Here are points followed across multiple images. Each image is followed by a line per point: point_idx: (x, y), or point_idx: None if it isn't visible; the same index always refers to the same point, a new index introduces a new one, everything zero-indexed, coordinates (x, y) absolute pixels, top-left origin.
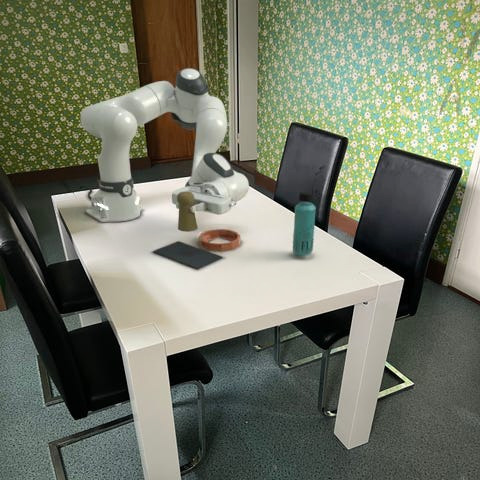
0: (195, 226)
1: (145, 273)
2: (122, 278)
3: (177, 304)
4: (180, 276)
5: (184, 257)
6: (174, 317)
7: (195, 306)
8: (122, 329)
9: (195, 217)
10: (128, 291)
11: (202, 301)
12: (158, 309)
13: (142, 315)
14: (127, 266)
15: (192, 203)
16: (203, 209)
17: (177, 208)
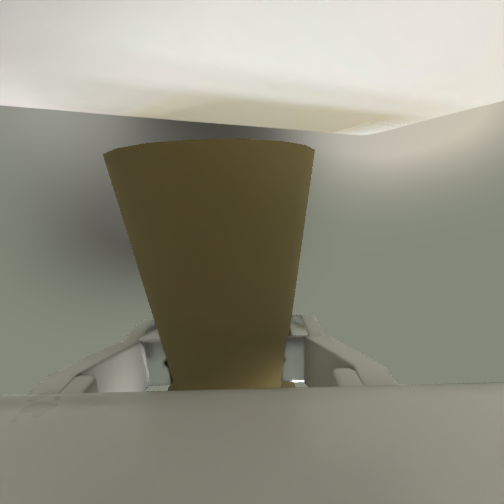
0: (308, 187)
1: (221, 81)
2: (202, 105)
3: (396, 100)
4: (345, 47)
5: None
6: (403, 112)
7: (445, 92)
8: (334, 132)
9: (290, 275)
10: (265, 113)
11: (465, 81)
12: (362, 113)
13: (343, 122)
14: (134, 84)
15: (286, 386)
16: (385, 383)
17: (153, 319)
